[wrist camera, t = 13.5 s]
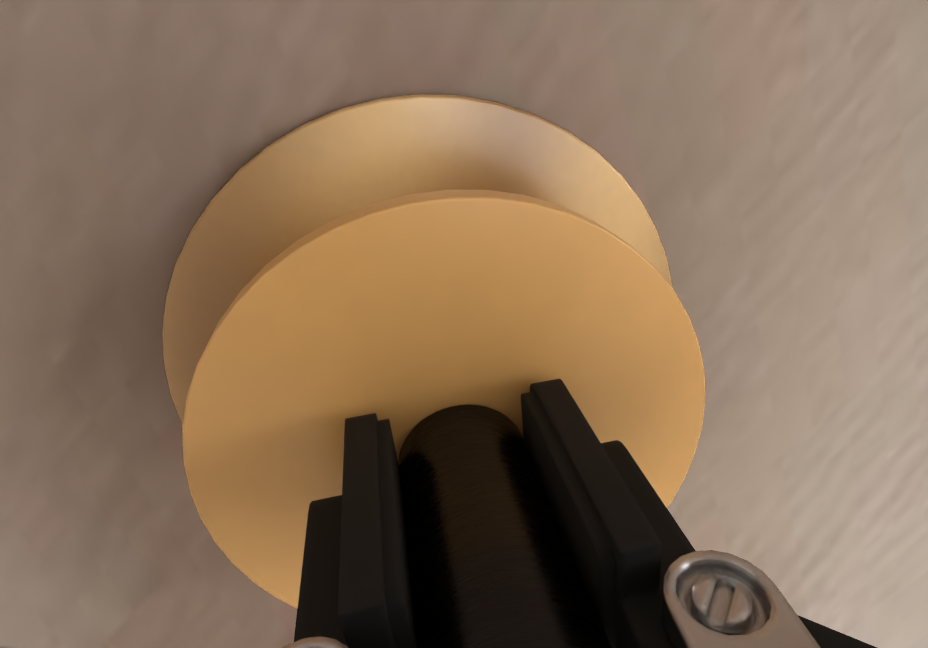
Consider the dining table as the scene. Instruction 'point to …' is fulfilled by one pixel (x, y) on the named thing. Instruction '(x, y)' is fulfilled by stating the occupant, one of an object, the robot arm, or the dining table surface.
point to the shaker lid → (441, 399)
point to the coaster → (379, 195)
